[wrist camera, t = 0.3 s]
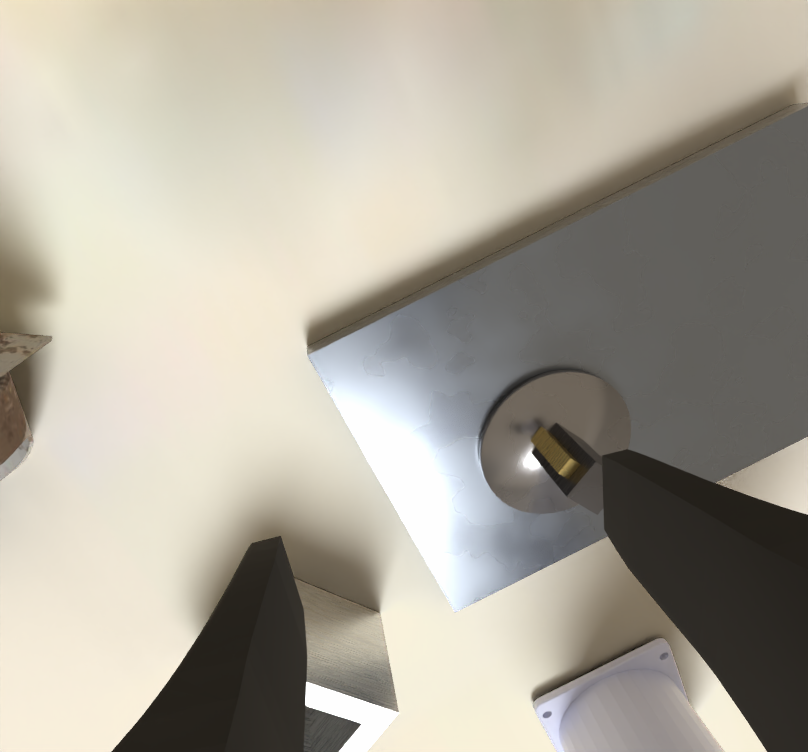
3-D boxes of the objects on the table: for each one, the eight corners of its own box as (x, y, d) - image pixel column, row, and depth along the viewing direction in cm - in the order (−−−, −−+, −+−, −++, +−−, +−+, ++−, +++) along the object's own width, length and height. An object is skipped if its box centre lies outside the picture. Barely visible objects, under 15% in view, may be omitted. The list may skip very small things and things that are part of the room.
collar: (380, 613, 25) (398, 713, 21) (315, 695, 26) (319, 806, 22) (273, 569, 23) (267, 668, 19) (208, 659, 24) (187, 774, 20)
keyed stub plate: (828, 407, 26) (930, 453, 21) (449, 596, 26) (478, 679, 21) (792, 104, 20) (921, 89, 16) (306, 346, 20) (309, 394, 16)
